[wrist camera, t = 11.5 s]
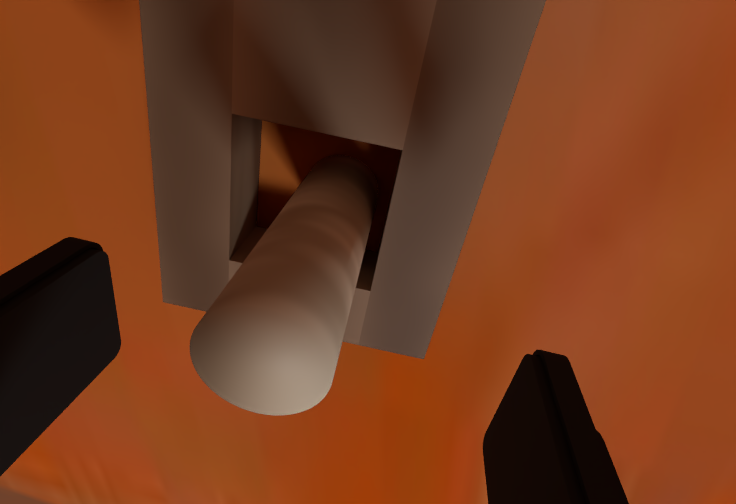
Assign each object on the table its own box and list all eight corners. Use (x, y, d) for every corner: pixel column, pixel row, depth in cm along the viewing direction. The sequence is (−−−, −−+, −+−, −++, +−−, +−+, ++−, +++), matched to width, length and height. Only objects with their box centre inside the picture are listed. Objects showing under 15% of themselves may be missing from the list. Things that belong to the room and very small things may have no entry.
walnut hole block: (653, -413, 9) (743, -579, 7) (423, 314, 20) (423, 359, 17) (176, -509, 9) (82, -709, 7) (197, 265, 20) (163, 301, 17)
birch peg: (385, 163, 16) (343, 324, 8) (371, 230, 18) (323, 427, 9) (310, 147, 17) (187, 289, 8) (302, 215, 18) (192, 398, 9)
